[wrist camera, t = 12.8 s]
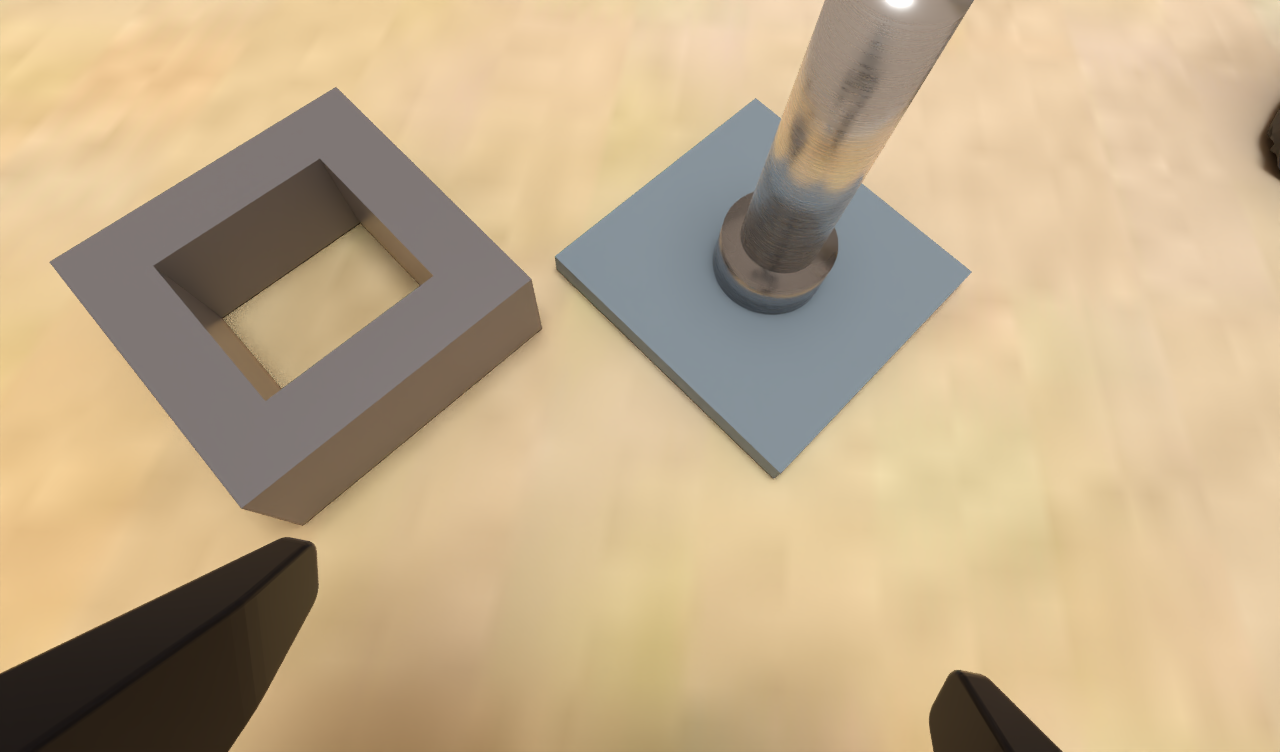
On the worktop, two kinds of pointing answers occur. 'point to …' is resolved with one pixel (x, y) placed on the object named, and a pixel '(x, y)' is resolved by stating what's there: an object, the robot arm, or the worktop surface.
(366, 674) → the worktop surface
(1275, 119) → the cordless drill
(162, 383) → the socket block
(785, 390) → the mat
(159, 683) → the robot arm
